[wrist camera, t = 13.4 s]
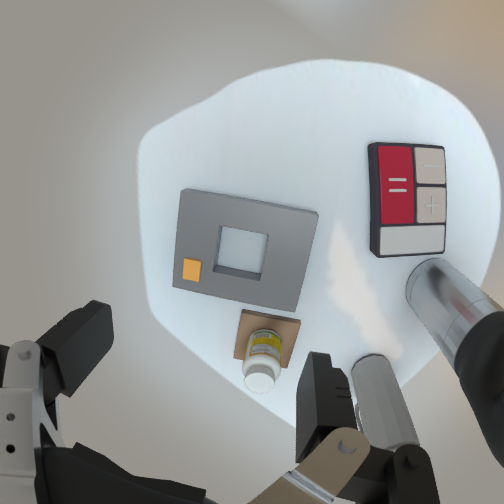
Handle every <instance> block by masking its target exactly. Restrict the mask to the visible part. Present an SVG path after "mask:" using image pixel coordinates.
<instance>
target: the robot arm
mask: <svg viewBox="0 0 504 504" xmlns="http://www.w3.org/2000/svg"><path fill="white" fill-rule="evenodd" d="M406 297H407V300H408V303H409V304H410V306H411V307H412V309H413V310H414V311H415V313H416V314H417V316H418V317H419V319H420V320H421V321H422V323H423V324H424V326H425V327H426V329H427V330H428V332H429V333H430V334H431V336H432V337H433V339H434V340H435V342H436V343H437V345H438V346H439V348H440V349H441V351H442V352H443V354H444V355H445V357H446V358H447V360H448V361H449V363H450V365H451V366H452V368H453V369H454V371H455V372H456V374H457V376H458V377H459V379H460V384H461V387H462V389H463V391H464V393H465V395H466V397H467V399H468V401H469V403H470V405H471V407H472V409H473V411H474V414H475V416H476V418H477V421H478V423H479V426H480V428H481V430H482V433H483V435H484V437H485V439H486V442H487V444H488V446H489V448H490V450H491V452H492V454H493V455H494V457H495V458H496V460H497V461H498V462H499V463H500V464H501V466H502V467H503V468H504V309H503V308H502V307H501V306H500V305H499V304H497V303H496V302H495V301H494V300H493V299H492V298H490V297H489V296H488V295H487V294H486V293H485V292H483V291H482V290H481V289H480V288H479V287H477V286H476V285H475V284H474V283H473V282H471V281H470V280H469V279H468V278H466V277H465V276H464V275H463V274H461V273H460V272H459V271H458V270H457V269H455V268H454V267H453V266H451V265H450V264H449V263H447V262H446V261H444V260H442V259H430V260H427V261H425V262H423V263H422V264H420V265H419V266H418V267H417V268H416V269H415V270H414V271H413V273H412V274H411V276H410V278H409V280H408V283H407V287H406ZM113 340H114V332H113V322H112V311H111V307H110V305H108V304H105V303H102V302H99V301H96V300H92V301H90V302H89V303H88V304H87V305H86V306H84V307H83V308H79V309H76V310H74V311H72V312H70V313H69V314H67V315H66V316H65V317H64V318H63V320H60V321H59V322H58V323H57V325H54V326H53V327H52V328H51V329H50V330H48V331H47V332H46V333H45V334H44V335H42V336H41V337H40V338H39V339H38V340H37V341H36V342H33V341H30V340H23V341H19V342H16V343H15V344H13V345H12V346H11V347H8V346H4V345H0V504H218V503H216V502H214V501H212V500H210V499H208V498H206V497H205V496H206V490H205V489H201V488H196V487H192V486H188V485H185V484H181V483H178V482H174V481H171V480H161V479H153V478H145V477H138V476H133V475H131V474H130V473H128V472H127V471H125V470H124V469H122V468H121V467H119V466H118V465H117V464H115V463H114V462H112V461H111V460H110V459H108V458H107V457H106V456H104V455H102V454H100V453H98V452H96V451H93V450H92V449H90V448H88V447H86V446H84V445H82V444H80V443H78V442H76V444H75V445H74V447H73V448H66V447H65V445H64V443H63V439H62V434H61V425H60V416H59V403H58V399H57V396H58V394H59V393H62V394H64V395H66V396H68V397H71V396H72V395H73V394H74V392H75V391H76V390H77V389H78V387H79V386H80V385H81V383H82V382H83V381H84V380H85V379H86V377H87V376H88V375H89V374H90V373H91V371H92V370H93V369H94V368H95V367H96V365H97V364H98V363H99V362H100V360H101V359H102V358H103V357H104V356H105V355H106V353H107V352H108V351H109V350H110V348H111V346H112V344H113ZM349 389H350V387H349V382H348V378H347V377H346V375H345V374H344V373H343V371H342V370H341V369H340V368H332V363H331V357H330V354H325V353H318V352H311V351H310V352H309V354H308V357H307V360H306V362H305V365H304V368H303V371H302V374H301V377H300V379H299V382H298V387H297V394H296V463H300V464H299V465H298V466H297V467H296V468H295V469H294V470H292V471H291V472H290V471H288V472H287V473H285V474H284V475H282V476H281V477H280V478H279V479H278V480H276V481H275V482H274V483H273V484H272V485H270V486H269V487H268V488H267V489H266V490H264V491H263V492H262V493H261V494H259V495H258V496H257V497H256V498H255V499H253V500H252V501H250V502H249V503H248V504H331V503H332V502H333V499H334V498H335V497H339V498H342V499H346V500H350V501H354V502H356V504H440V500H439V495H438V490H437V486H436V482H435V477H434V473H433V468H432V465H431V461H430V457H429V455H428V454H427V452H426V451H425V450H424V449H423V448H421V447H419V446H417V445H414V444H405V445H402V446H400V447H399V448H398V449H397V450H396V451H395V452H393V451H389V450H385V449H381V448H377V447H374V446H372V445H370V443H369V440H368V439H367V437H366V436H365V435H364V434H363V433H362V432H360V431H358V428H357V422H356V417H355V412H354V407H353V402H352V399H351V392H350V390H349Z"/></svg>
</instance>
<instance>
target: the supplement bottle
mask: <svg viewBox="0 0 504 504" xmlns="http://www.w3.org/2000/svg"><path fill="white" fill-rule="evenodd" d="M281 360H282V339H281V337H280V336H279V335H278V334H277V333H276V332H274V331H272V330H268V329H261V330H258V331H255V332H254V333H253V334H252V335H251V336H250V338H249V340H248V344H247V349H246V353H245V357H244V361H243V365H242V371H243V374H244V376H245V379H244V385H245V387H246V388H247V389H248V390H249V391H251V392H253V393H257V394H264V393H268V392H270V391H271V390H272V389H273V388H274V385H275V380H277V378H278V377H279V375H280V372H281Z"/></svg>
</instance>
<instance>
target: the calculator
mask: <svg viewBox="0 0 504 504" xmlns="http://www.w3.org/2000/svg"><path fill="white" fill-rule="evenodd" d="M368 159H369V179H370V204H371V222H370V251H371V252H372V253H373V254H374V255H375V256H376V257H378V258H385V257H401V256H417V255H432V254H443V253H444V251H445V238H446V211H447V190H446V164H445V150H444V147H443V146H436V145H423V144H407V143H383V142H375V143H372V144H369V145H368Z"/></svg>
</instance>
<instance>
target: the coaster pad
mask: <svg viewBox="0 0 504 504" xmlns="http://www.w3.org/2000/svg"><path fill="white" fill-rule="evenodd" d="M300 325H301V321H300V320H297V319H292V318H286V317H281V316H275V315H270V314H265V313H260V312H255V311H250V310H245V309H242V313H241V318H240V324H239V329H238V335H237V341H236V346H235V352H234V357H233V358H235V359H240V360H244V357H245V353H246V349H247V344H248V340H249V338H250V336H251V335H252V334H253V333H254V332H255V331H258V330H261V329H268V330H272V331H274V332H276V333H277V334H278V335H279V336H280V337H281V339H282V360H281V367H282V368H287V367H288V364H289V361H290V357H291V354H292V351H293V348H294V345H295V341H296V338H297V335H298V331H299V328H300Z"/></svg>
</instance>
